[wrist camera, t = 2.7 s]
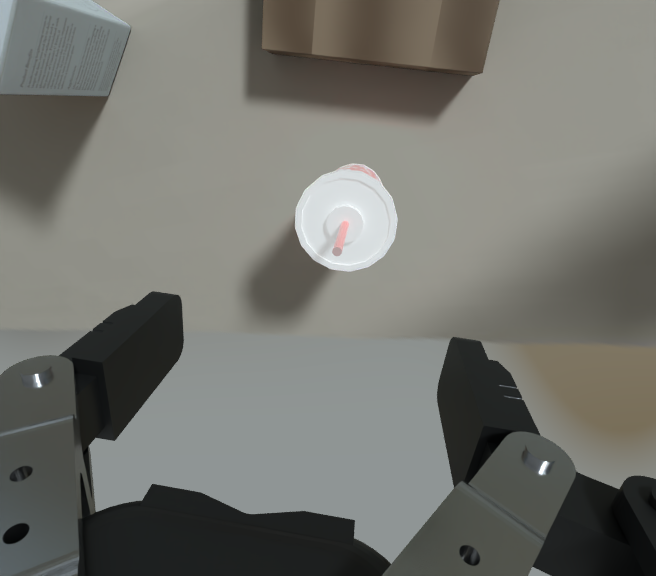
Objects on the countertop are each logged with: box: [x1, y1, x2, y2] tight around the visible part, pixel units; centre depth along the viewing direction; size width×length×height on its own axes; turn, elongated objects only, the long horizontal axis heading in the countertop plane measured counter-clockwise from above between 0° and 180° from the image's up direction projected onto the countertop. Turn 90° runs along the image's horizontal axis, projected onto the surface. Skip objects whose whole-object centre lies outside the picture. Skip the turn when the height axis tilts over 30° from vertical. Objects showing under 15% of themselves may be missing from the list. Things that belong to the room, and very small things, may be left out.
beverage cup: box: [295, 164, 398, 272], centre depth 26 cm, size 6×6×14 cm
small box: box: [0, 0, 131, 96], centre depth 25 cm, size 8×6×10 cm
